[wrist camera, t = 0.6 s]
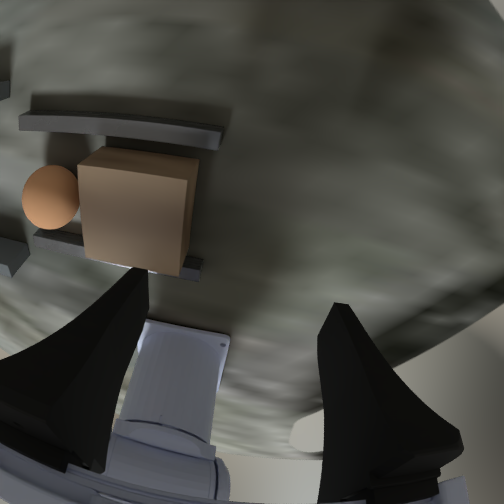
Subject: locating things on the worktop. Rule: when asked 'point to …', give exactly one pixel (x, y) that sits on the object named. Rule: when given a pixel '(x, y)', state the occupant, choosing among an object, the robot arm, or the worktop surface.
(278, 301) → the worktop surface
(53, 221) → the ball
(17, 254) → the tray
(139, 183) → the brown square block
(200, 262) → the rails
